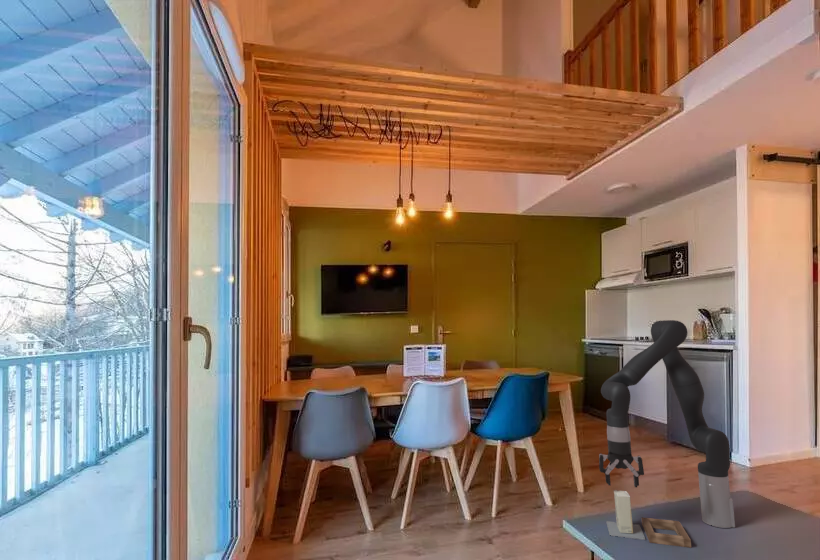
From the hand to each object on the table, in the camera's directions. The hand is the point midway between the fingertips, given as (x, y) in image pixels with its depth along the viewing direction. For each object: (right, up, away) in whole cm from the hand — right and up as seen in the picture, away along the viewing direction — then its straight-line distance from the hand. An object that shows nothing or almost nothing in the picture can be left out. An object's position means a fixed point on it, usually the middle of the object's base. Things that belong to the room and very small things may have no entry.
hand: (622, 485), depth 156 cm
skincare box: (0, -15, -2) cm, 15 cm away
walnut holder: (+12, -14, -5) cm, 20 cm away
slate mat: (0, -15, -2) cm, 15 cm away
